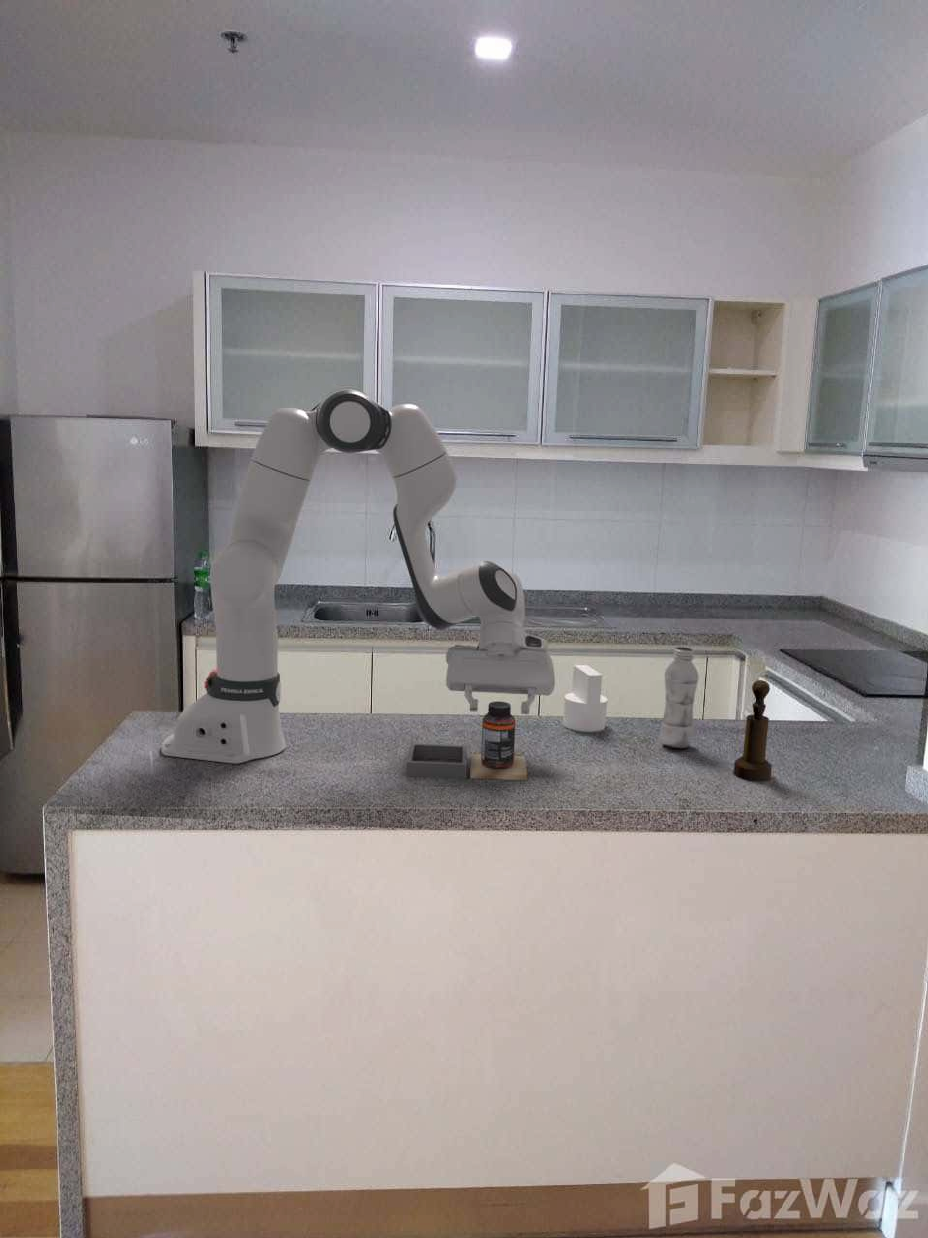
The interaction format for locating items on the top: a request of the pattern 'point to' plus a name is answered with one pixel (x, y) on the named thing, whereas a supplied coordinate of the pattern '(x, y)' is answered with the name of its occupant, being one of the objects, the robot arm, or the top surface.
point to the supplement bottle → (498, 736)
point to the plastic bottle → (679, 700)
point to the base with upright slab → (585, 701)
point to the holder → (437, 767)
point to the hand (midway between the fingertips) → (499, 711)
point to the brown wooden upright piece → (755, 740)
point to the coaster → (509, 773)
